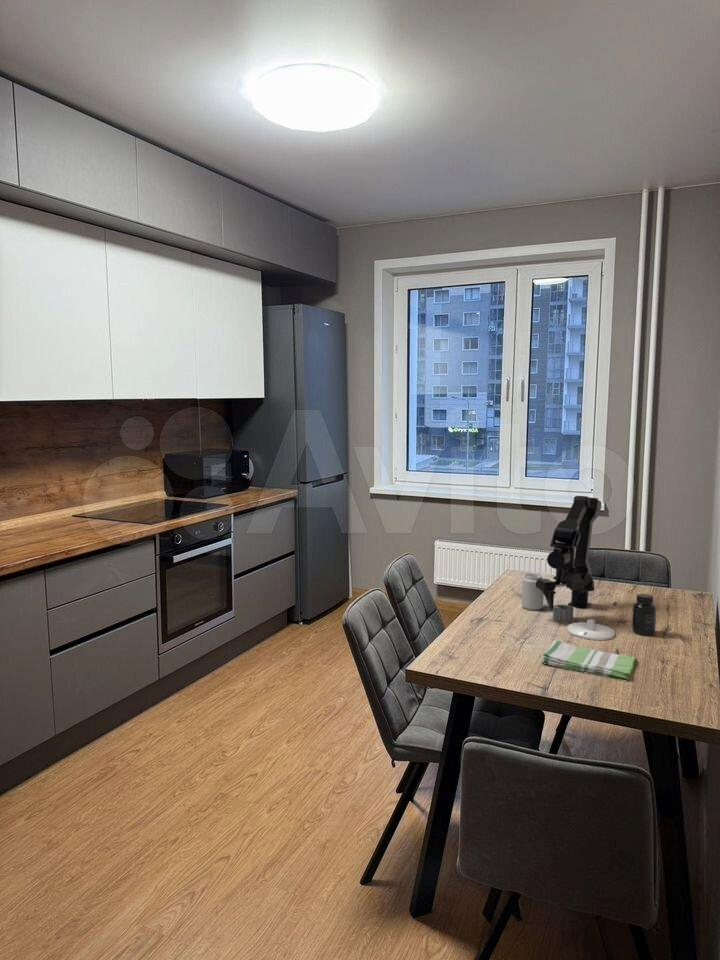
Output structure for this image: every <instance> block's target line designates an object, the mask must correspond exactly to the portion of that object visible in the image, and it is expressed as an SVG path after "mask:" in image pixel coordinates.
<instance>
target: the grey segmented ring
mask: <svg viewBox="0 0 720 960" xmlns="http://www.w3.org/2000/svg"><path fill="white" fill-rule="evenodd" d="M552 619H553V620H554V621H558V622H561V621H562V622H563V623H564V622H565V623H567V622H568V621H570V622H572V621H573V619H574V606H570V605H568V604H562V603H561V604H558V603H557V604H553V610H552Z"/></svg>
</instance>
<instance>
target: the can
mask: <svg viewBox="0 0 720 960" xmlns="http://www.w3.org/2000/svg"><path fill="white" fill-rule="evenodd" d="M523 576H524V577H522V581H521V582H522V583H521V584H522V585H521V606H522V607H523V608H524V609H526V610H528V611H539V610H541V609H542V608H543V607H544V598H545V596H544V594H543V592H542V591H541V590H539V588H536V581H537V580H538V579H544V578H543V575H542V574H540V573H528V572H527V573H524V575H523Z"/></svg>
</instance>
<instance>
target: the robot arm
mask: <svg viewBox="0 0 720 960" xmlns="http://www.w3.org/2000/svg"><path fill="white" fill-rule="evenodd" d="M572 501H573V502H572V505H571V507H570V508H569V511H568V514H567V515H566V517H565V519H564V520H561V521H560V522H559V523H558V525H557V526H556V528H554V530H553V534H552V538H551V540H550V544H549V545H550V548H552V547H553V551H551V552H549V553H548V555H547V557H546V562H547V564H548V566H549V567H551V568H552V569H554V570H555V575H554V576H553V580H554V581H553V580H550V579H548V578H543V579H538V580H537V581H536V588H539V590H541V591H542V592H543V594H544V598H545V600H546V602H547V605H548V608H549V610H551V611H553V606H554V599H555V597H554V596H555V594H556V593H557V591H556V589H557V588H560V587H566V588H567V589H569V590H571V599H570V602H568V603H567V605H569V606H572V607H573V608H575V609H576V608H581V609H586V608H588V607H590V606H591V605H592V602H589V592H593V591H595V580H594V577H593V575H592V572H593V571H592V568H591V565H590V564H589V557H590V548H591V540H592V530H593V524H594V522H595V521H596V519H598V517H599V514H600V511H601V509H602V501H600V500H599V498H598V497H589V496H586V495H575V496H574V498H573V500H572Z"/></svg>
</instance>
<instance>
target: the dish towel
mask: <svg viewBox="0 0 720 960" xmlns="http://www.w3.org/2000/svg"><path fill="white" fill-rule="evenodd" d="M542 656H543V659H542V660H541V663H545V664H550V665H553V666H552V667H554V666H557V667H556V668H559V667H561V669H564V668H567V669H566V670H568V669H572V670H571V671H573V670H577V671H576V672H579V671H583V672H582V673H584V672H587V673H586V674H589V673H592V674H591V675H593V674H596V675H595V676H598V675H600V676H599V677H603V676H604V678H608V677H609V679H613V680H618V679H619V681H623V680H626V681H625V682H629V679H630V678H631V676H632V673H633V672H634V671H633V670H634V667H635V665H636V662H637V660H638V658H636V657H634V656H630V655H623V654H616V653H612V652H605V651H599V650H594V649H591V648H587V647H580V646H574V645H571V644H568V643H564V642H563V641H561V640H560V641H559V640H553V642H552V643H551V644H550V646H549V647H548V649H546V651H544V652H543V653H542ZM545 664H544V665H545ZM550 665H549V666H550ZM605 676H606V677H605ZM620 679H621V680H620Z"/></svg>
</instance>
